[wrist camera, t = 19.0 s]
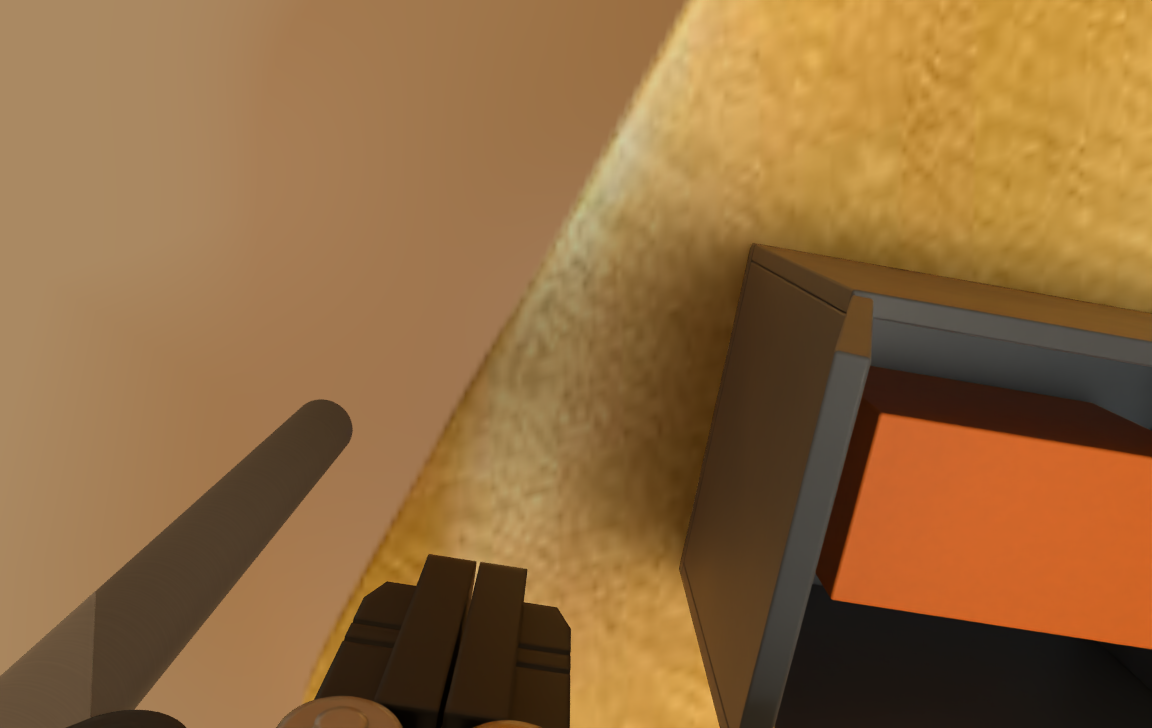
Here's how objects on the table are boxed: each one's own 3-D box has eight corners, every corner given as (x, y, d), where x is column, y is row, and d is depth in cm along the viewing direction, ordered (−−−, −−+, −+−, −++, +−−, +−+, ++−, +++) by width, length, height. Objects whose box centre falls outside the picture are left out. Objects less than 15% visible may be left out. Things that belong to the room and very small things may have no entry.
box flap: (744, 796, 18) (725, 788, 18) (873, 299, 15) (852, 294, 15) (671, 1118, 11) (643, 1103, 12) (872, 357, 9) (834, 350, 9)
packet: (774, 504, 27) (830, 601, 21) (810, 355, 26) (880, 412, 20) (1044, 548, 27) (1173, 654, 21) (1092, 402, 26) (1242, 472, 20)
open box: (678, 569, 28) (730, 772, 19) (751, 242, 25) (853, 288, 16) (1081, 633, 28) (1326, 861, 19) (1192, 320, 26) (1536, 408, 17)
